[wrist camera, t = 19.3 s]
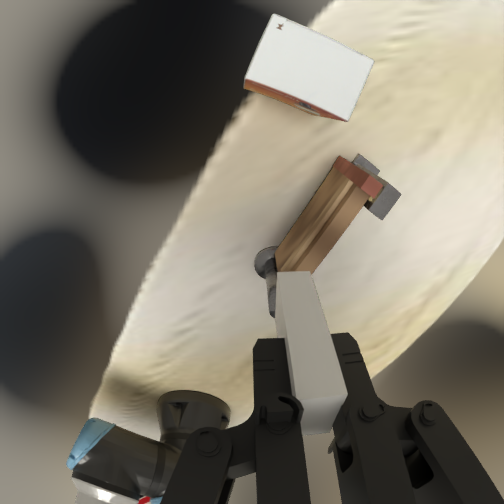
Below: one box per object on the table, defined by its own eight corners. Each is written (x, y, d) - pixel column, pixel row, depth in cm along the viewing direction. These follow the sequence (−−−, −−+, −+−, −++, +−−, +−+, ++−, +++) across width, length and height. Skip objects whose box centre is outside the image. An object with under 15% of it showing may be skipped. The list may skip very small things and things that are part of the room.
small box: (242, 88, 25) (240, 78, 16) (262, 42, 23) (271, 11, 14) (315, 117, 27) (349, 124, 18) (335, 72, 24) (377, 60, 15)
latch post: (354, 203, 32) (383, 235, 24) (332, 188, 31) (358, 217, 23) (378, 169, 29) (415, 193, 22) (357, 152, 29) (392, 171, 21)
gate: (285, 256, 34) (295, 300, 27) (271, 249, 34) (277, 292, 27) (350, 163, 29) (383, 185, 22) (336, 153, 28) (365, 171, 21)
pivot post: (277, 282, 37) (285, 332, 29) (247, 268, 35) (248, 317, 28) (297, 257, 35) (311, 304, 27) (267, 240, 34) (273, 286, 26)
